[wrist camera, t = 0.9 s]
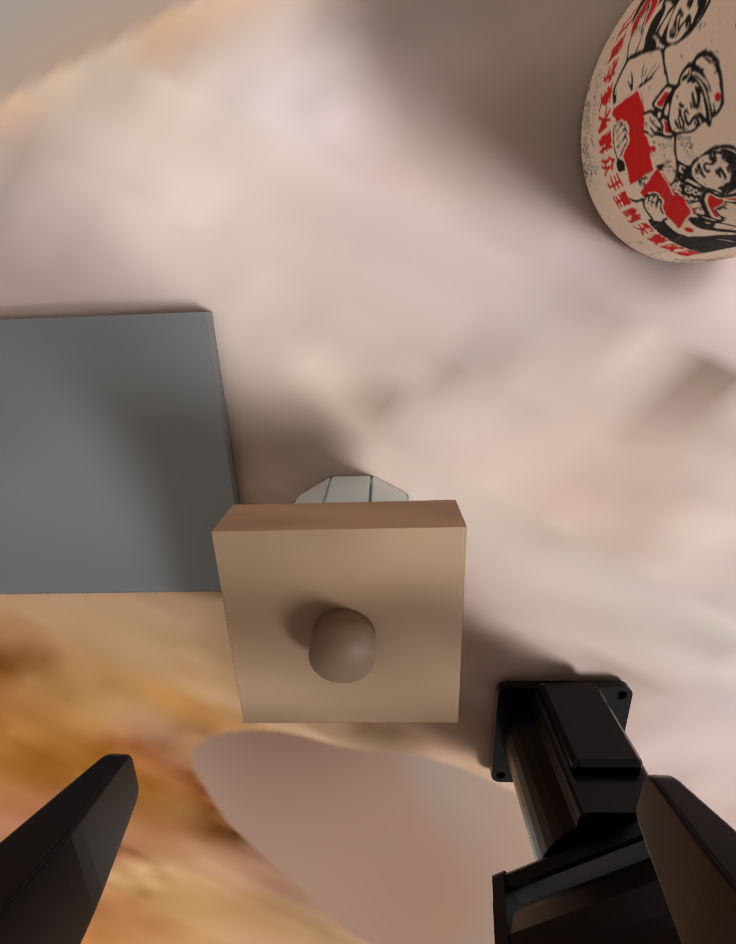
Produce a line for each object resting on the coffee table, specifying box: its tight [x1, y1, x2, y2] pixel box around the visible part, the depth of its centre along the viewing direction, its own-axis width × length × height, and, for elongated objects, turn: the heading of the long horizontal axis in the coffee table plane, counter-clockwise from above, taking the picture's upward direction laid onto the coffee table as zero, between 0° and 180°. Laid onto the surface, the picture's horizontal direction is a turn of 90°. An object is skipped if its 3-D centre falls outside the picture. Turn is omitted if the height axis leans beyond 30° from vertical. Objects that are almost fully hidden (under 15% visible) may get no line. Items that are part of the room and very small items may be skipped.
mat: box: [0, 312, 239, 594], centre depth 18 cm, size 12×12×1 cm
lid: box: [212, 500, 467, 723], centre depth 14 cm, size 8×8×3 cm
